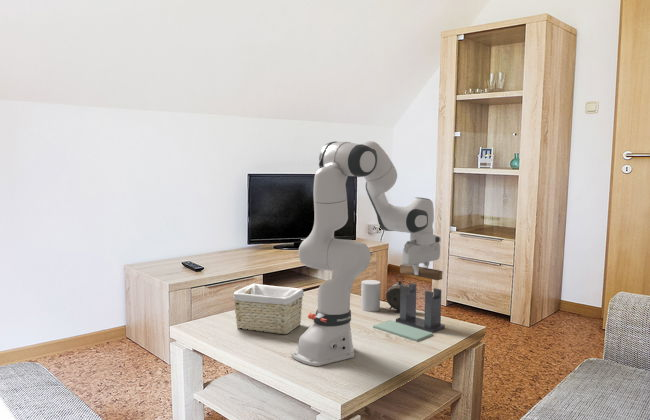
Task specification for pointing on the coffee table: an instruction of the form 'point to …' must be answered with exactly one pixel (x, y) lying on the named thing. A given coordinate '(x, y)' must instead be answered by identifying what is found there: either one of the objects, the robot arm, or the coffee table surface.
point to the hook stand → (431, 309)
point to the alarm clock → (394, 295)
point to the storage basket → (268, 308)
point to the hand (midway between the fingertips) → (420, 273)
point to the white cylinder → (370, 295)
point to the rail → (422, 272)
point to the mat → (403, 330)
